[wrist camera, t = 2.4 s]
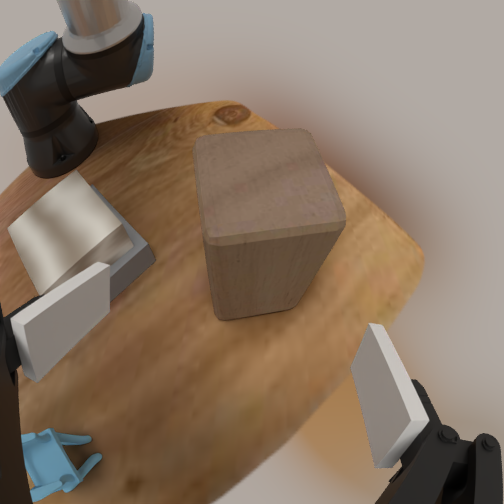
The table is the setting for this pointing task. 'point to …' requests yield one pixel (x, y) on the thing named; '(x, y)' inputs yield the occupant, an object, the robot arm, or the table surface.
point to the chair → (53, 462)
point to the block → (264, 217)
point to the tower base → (127, 256)
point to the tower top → (67, 234)
